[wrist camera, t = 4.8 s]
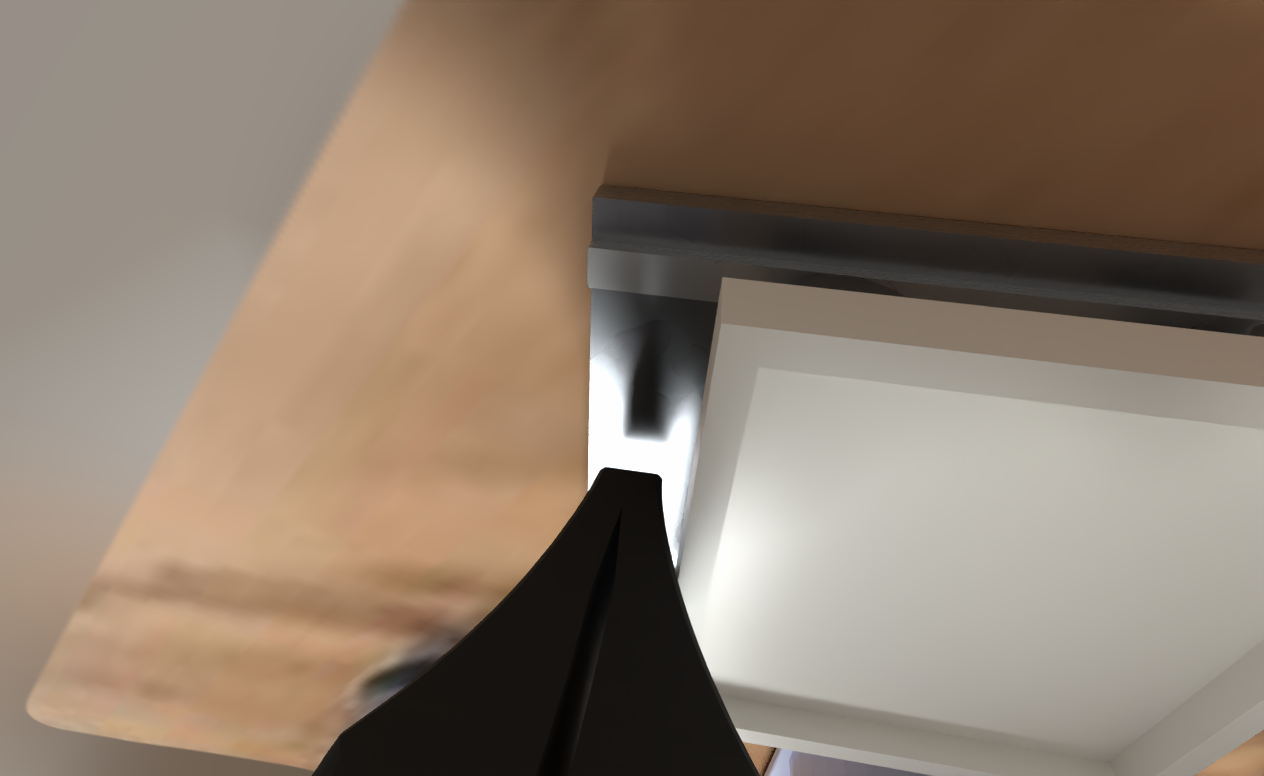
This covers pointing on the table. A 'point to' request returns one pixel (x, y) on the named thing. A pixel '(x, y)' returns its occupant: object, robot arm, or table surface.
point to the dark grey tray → (852, 247)
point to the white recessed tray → (977, 533)
